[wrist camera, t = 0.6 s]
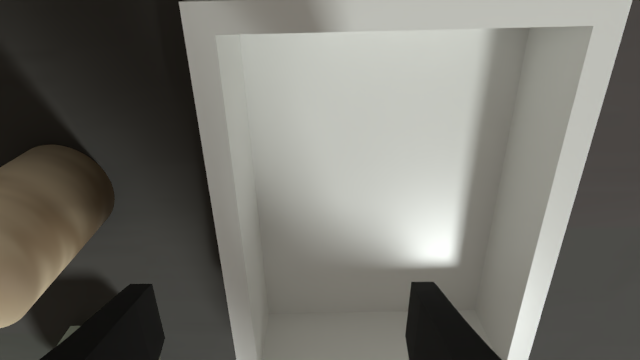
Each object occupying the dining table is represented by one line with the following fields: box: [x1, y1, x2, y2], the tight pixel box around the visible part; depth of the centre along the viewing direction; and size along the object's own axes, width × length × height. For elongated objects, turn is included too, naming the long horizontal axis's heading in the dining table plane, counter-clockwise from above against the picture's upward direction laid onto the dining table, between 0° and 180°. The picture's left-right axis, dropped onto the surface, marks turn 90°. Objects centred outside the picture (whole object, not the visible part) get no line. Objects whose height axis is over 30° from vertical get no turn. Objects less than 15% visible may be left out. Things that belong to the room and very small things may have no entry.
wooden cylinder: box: [0, 145, 115, 328], centre depth 18 cm, size 5×5×7 cm
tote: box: [179, 0, 632, 360], centre depth 19 cm, size 18×14×5 cm
